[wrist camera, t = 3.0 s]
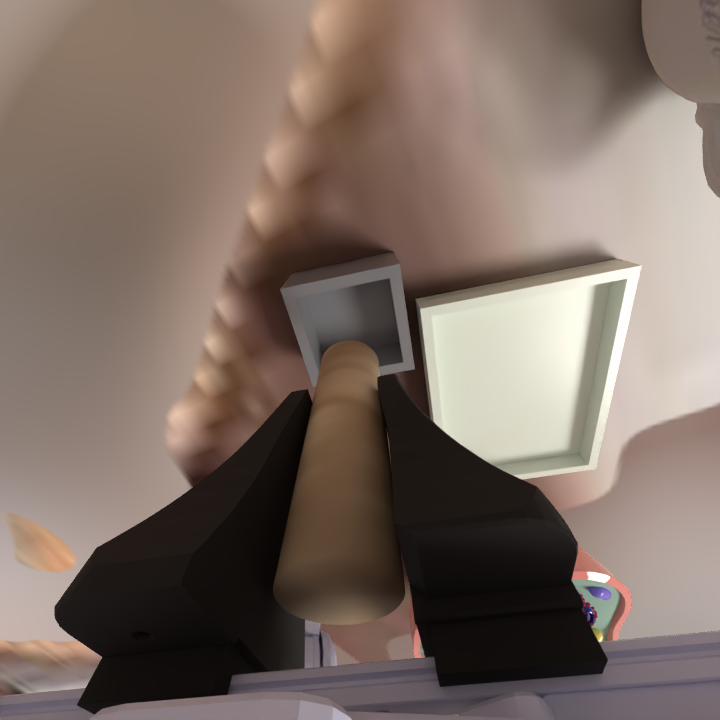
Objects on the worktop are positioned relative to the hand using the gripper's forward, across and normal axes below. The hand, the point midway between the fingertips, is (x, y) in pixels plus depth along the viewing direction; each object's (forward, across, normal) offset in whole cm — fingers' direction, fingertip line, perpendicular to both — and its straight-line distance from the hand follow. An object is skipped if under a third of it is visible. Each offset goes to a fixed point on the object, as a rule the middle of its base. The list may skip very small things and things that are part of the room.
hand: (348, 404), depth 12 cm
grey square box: (+10, 0, 0) cm, 10 cm away
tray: (+10, -10, +8) cm, 16 cm away
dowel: (+3, 0, 0) cm, 3 cm away
